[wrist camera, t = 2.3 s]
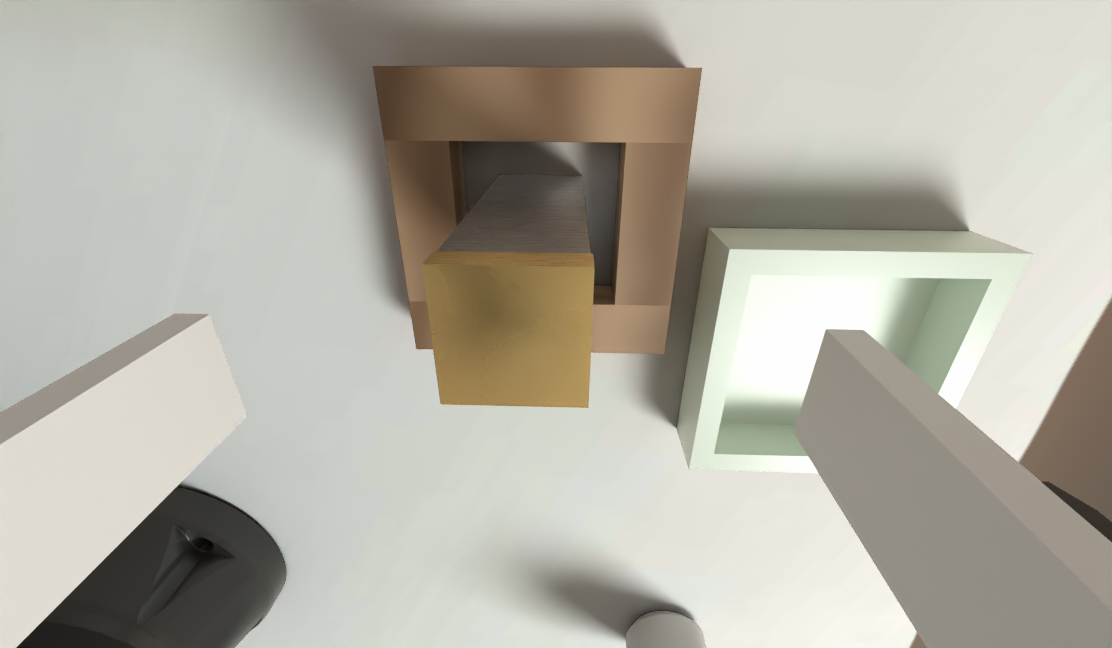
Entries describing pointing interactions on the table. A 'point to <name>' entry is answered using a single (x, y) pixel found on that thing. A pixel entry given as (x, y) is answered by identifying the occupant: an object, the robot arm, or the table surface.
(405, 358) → the table surface
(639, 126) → the socket block
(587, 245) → the strut
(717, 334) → the bin
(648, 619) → the beverage can
